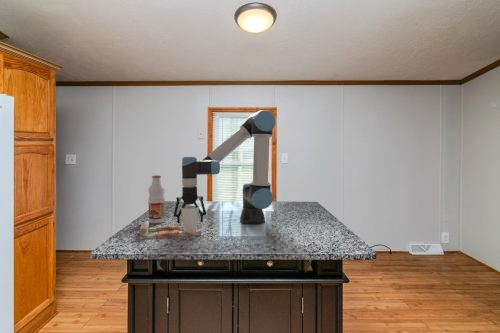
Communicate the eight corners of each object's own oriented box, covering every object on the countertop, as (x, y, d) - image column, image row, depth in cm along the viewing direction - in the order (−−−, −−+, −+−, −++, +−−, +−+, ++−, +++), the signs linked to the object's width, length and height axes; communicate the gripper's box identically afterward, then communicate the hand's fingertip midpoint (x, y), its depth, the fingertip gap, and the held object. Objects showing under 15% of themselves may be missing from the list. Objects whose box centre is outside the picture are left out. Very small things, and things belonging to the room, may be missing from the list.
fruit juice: (167, 221, 178) (167, 175, 177) (153, 224, 172) (152, 176, 171) (160, 219, 185) (160, 174, 184) (146, 221, 179) (145, 175, 178)
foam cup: (177, 233, 153) (177, 208, 152) (187, 228, 161) (187, 205, 161) (193, 234, 149) (192, 209, 148) (202, 230, 158) (202, 206, 157)
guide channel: (198, 227, 164) (198, 218, 163) (201, 235, 149) (201, 225, 149) (143, 231, 156) (142, 222, 156) (140, 239, 142) (139, 229, 141)
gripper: (209, 184, 160) (210, 225, 161) (167, 186, 155) (168, 228, 156) (211, 186, 153) (212, 229, 154) (167, 187, 148) (168, 232, 149)
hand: (190, 228), depth 155 cm, fingers closed on foam cup, 9 cm apart
